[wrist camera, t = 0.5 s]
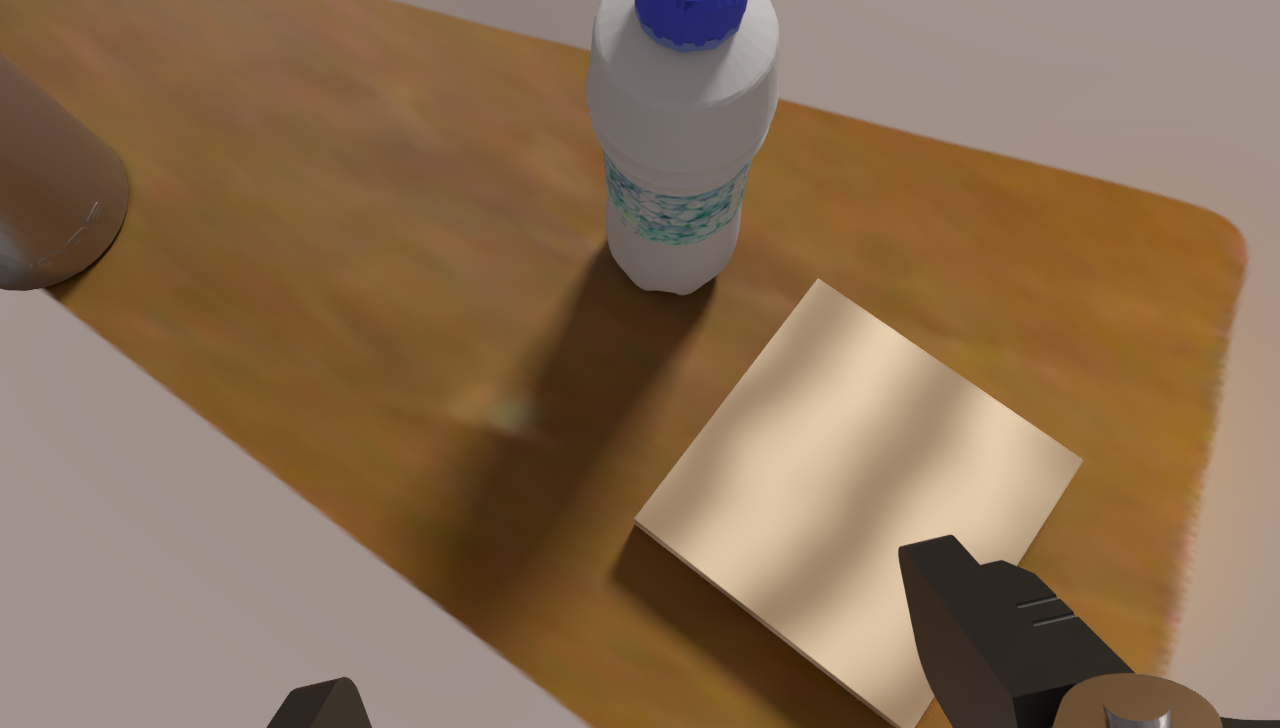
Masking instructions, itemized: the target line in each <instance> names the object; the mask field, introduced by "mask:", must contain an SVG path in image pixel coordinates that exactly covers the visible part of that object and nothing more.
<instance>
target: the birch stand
mask: <svg viewBox="0 0 1280 728" xmlns="http://www.w3.org/2000/svg"><path fill="white" fill-rule="evenodd" d="M1082 462H1083V459H1081V458H1080V457H1078V456H1077V455H1076V454H1074V453H1073V452H1071V451H1070V450H1068V449H1067V448H1065V447H1064V446H1062V445H1061V444H1059V443H1058V442H1057V441H1055V440H1054V439H1052V438H1051V437H1049V436H1048V435H1046V434H1045V433H1043V432H1042V431H1040V430H1039V429H1038V428H1036V427H1035V426H1033V425H1032V424H1030V423H1029V422H1027V421H1026V420H1024V419H1023V418H1021V417H1020V416H1019V415H1017V414H1016V413H1014V412H1013V411H1011V410H1010V409H1008V408H1007V407H1005V406H1004V405H1003V404H1001V403H1000V402H998V401H997V400H995V399H994V398H992V397H991V396H989V395H988V394H986V393H985V392H984V391H982V390H981V389H979V388H978V387H976V386H975V385H973V384H972V383H970V382H969V381H967V380H966V379H965V378H963V377H962V376H960V375H959V374H957V373H956V372H954V371H953V370H951V369H950V368H948V367H947V366H946V365H944V364H943V363H941V362H940V361H938V360H937V359H935V358H934V357H932V356H931V355H929V354H928V353H927V352H925V351H924V350H922V349H921V348H919V347H918V346H916V345H915V344H913V343H912V342H911V341H909V340H908V339H906V338H905V337H903V336H902V335H900V334H899V333H897V332H896V331H894V330H893V329H892V328H890V327H889V326H887V325H886V324H884V323H883V322H881V321H880V320H878V319H877V318H875V317H874V316H873V315H871V314H870V313H868V312H867V311H865V310H864V309H862V308H861V307H859V306H858V305H856V304H855V303H854V302H852V301H851V300H849V299H848V298H846V297H845V296H843V295H842V294H840V293H839V292H837V291H836V290H835V289H833V288H832V287H830V286H829V285H827V284H826V283H824V282H823V281H821V280H820V279H819V278H818V279H817V280H816V282H815V283H814V284H813V285H812V287H811V288H810V289H809V291H808V292H807V293H806V295H805V296H804V297H803V299H802V300H801V301H800V302H799V304H798V305H797V306H796V308H795V309H794V310H793V312H792V313H791V314H790V316H789V317H788V318H787V319H786V321H785V322H784V323H783V325H782V326H781V327H780V329H779V330H778V331H777V333H776V334H775V335H774V336H773V338H772V339H771V340H770V342H769V343H768V344H767V346H766V347H765V348H764V350H763V351H762V352H761V353H760V355H759V356H758V357H757V359H756V360H755V361H754V363H753V364H752V365H751V367H750V368H749V369H748V370H747V372H746V373H745V374H744V376H743V377H742V378H741V380H740V381H739V382H738V384H737V385H736V386H735V387H734V389H733V390H732V391H731V393H730V394H729V395H728V397H727V398H726V399H725V400H724V402H723V403H722V404H721V406H720V407H719V408H718V410H717V411H716V412H715V414H714V415H713V416H712V417H711V419H710V420H709V421H708V423H707V424H706V425H705V427H704V428H703V429H702V431H701V432H700V433H699V434H698V436H697V437H696V438H695V440H694V441H693V442H692V444H691V445H690V446H689V448H688V449H687V450H686V451H685V453H684V454H683V455H682V457H681V458H680V459H679V461H678V462H677V463H676V465H675V466H674V467H673V468H672V470H671V471H670V472H669V474H668V475H667V476H666V478H665V479H664V480H663V482H662V483H661V484H660V485H659V487H658V488H657V489H656V491H655V492H654V493H653V495H652V496H651V497H650V499H649V500H648V501H647V502H646V504H645V505H644V506H643V508H642V509H641V510H640V512H639V513H638V514H637V515H636V517H635V518H634V522H635V525H636V526H638V527H639V528H640V529H641V530H643V531H644V532H645V533H646V534H648V535H649V536H650V537H652V538H653V539H654V540H655V541H657V542H658V543H659V544H660V545H662V546H663V547H664V548H666V549H667V550H668V551H669V552H671V553H672V554H673V555H675V556H676V557H677V558H678V559H680V560H681V561H682V562H683V563H685V564H686V565H687V566H689V567H690V568H691V569H692V570H694V571H695V572H696V573H698V574H699V575H700V576H701V577H703V578H704V579H705V580H706V581H708V582H709V583H710V584H712V585H713V586H714V587H715V588H717V589H718V590H719V591H720V592H722V593H723V594H724V595H726V596H727V597H728V598H729V599H731V600H732V601H733V602H735V603H736V604H737V605H738V606H740V607H741V608H742V609H743V610H745V611H746V612H747V613H749V614H750V615H751V616H752V617H754V618H755V619H756V620H758V621H759V622H760V623H761V624H763V625H764V626H765V627H766V628H768V629H769V630H770V631H772V632H773V633H774V634H775V635H777V636H778V637H779V638H780V639H782V640H783V641H784V642H786V643H787V644H788V645H789V646H791V647H792V648H793V649H795V650H796V651H797V652H798V653H800V654H801V655H802V656H803V657H805V658H806V659H807V660H809V661H810V662H811V663H812V664H814V665H815V666H816V667H818V668H819V669H820V670H821V671H823V672H824V673H825V674H826V675H828V676H829V677H830V678H832V679H833V680H834V681H835V682H837V683H838V684H839V685H840V686H842V687H843V688H844V689H846V690H847V691H848V692H849V693H851V694H852V695H853V696H855V697H856V698H857V699H858V700H860V701H861V702H862V703H863V704H865V705H866V706H867V707H869V708H870V709H871V710H872V711H874V712H875V713H876V714H878V715H879V716H880V717H881V718H883V719H884V720H885V721H886V722H888V723H889V724H890V725H892V726H893V727H895V728H915V726H916V725H917V723H918V721H919V720H920V718H921V717H922V715H923V714H924V712H925V710H926V709H927V707H928V706H929V704H930V702H931V701H932V699H933V698H934V694H933V692H932V690H931V688H930V686H929V684H928V681H927V679H926V676H925V674H924V671H923V668H922V665H921V662H920V659H919V655H918V652H917V648H916V643H915V638H914V633H913V629H912V624H911V619H910V614H909V609H908V604H907V599H906V594H905V589H904V584H903V579H902V575H901V570H900V564H899V558H898V549H899V547H900V546H904V545H908V544H912V543H916V542H920V541H925V540H929V539H933V538H937V537H941V536H946V535H951V534H952V535H953V536H955V537H956V538H957V540H958V541H959V542H960V543H961V544H962V545H963V546H964V547H965V549H966V550H967V551H968V552H969V553H970V554H971V555H972V556H973V557H974V559H975V560H976V561H977V562H978V563H979V564H980V565H982V564H986V563H990V562H994V561H999V560H1004V561H1006V562H1008V563H1011V564H1013V565H1015V566H1017V565H1018V563H1019V562H1020V560H1021V558H1022V557H1023V555H1024V554H1025V552H1026V550H1027V549H1028V547H1029V546H1030V544H1031V543H1032V541H1033V539H1034V538H1035V536H1036V535H1037V533H1038V531H1039V530H1040V528H1041V527H1042V525H1043V524H1044V522H1045V520H1046V519H1047V517H1048V516H1049V514H1050V512H1051V511H1052V509H1053V508H1054V506H1055V505H1056V503H1057V501H1058V500H1059V498H1060V497H1061V495H1062V493H1063V492H1064V490H1065V489H1066V487H1067V486H1068V484H1069V482H1070V481H1071V479H1072V478H1073V476H1074V474H1075V473H1076V471H1077V470H1078V468H1079V467H1080V465H1081V463H1082Z"/></svg>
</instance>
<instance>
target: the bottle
mask: <svg viewBox="0 0 1280 728" xmlns="http://www.w3.org/2000/svg"><path fill="white" fill-rule="evenodd" d="M778 54H779V27H778V21H777V16H776V14H775V11H774V9H773V7H772V4H771V2H770V0H602V1H601V3H600V5H599V8H598V10H597V13H596V16H595V20H594V26H593V34H592V45H591V55H590V63H589V70H588V74H587V81H586V95H587V102H588V106H589V110H590V114H591V121H592V126H593V129H594V132H595V134H596V137H597V139H598V141H599V143H600V144H601V146H602V148H603V152H604V163H605V174H606V185H607V209H606V231H607V238H608V245H609V248H610V251H611V253H612V256H613V257H614V259H615V260H616V262H617V263H618V265H619V266H620V267H621V268H622V269H623V271H624V272H625V273H626V274H627V275H628V276H629V278H630V279H631V280H632V281H633V282H634V283H635V284H636V285H637V286H638V287H640V288H641V289H643V290H646V291H652V290H657V291H664V292H672V293H676V294H677V295H687V294H690V293H692V292H694V291H696V290H697V289H698V288H700V287H701V286H702V285H704V284H705V283H707V282H708V281H710V280H711V279H712V278H714V277H715V276H716V275H718V274H720V273H721V272H722V271H723V270H724V269H725V268H726V266H727V264H728V263H729V261H730V258H731V256H732V254H733V251H734V249H735V246H736V242H737V238H738V234H739V226H740V216H741V203H742V198H743V195H744V190H745V186H746V182H747V178H748V173H749V169H750V165H751V161H752V158H753V157H754V156H755V154H756V153H757V152H758V150H759V149H760V148H761V146H762V144H763V142H764V140H765V137H766V135H767V133H768V130H769V126H770V123H771V121H772V119H773V116H774V113H775V110H776V107H777V102H778V91H779V88H778V56H779V55H778Z"/></svg>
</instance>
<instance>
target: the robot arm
mask: <svg viewBox="0 0 1280 728" xmlns="http://www.w3.org/2000/svg"><path fill="white" fill-rule="evenodd" d="M128 194H129V190H128V183H127V176H126V173H125V171H124V168H123V166H122V164H121V161H120V160H119V158H118V157H117V156H116V155H115V153H114V152H113V151H112V149H111V148H110V147H109V146H107V145H106V144H105V143H104V142H103V141H102V140H100V139H99V138H98V137H97V136H96V135H95V134H93V133H92V132H91V131H90V130H89V129H88V128H87V127H85V126H84V125H83V124H82V123H81V122H80V121H78V120H77V119H76V118H75V117H74V116H73V115H71V114H70V113H69V112H68V111H67V110H66V109H65V108H63V107H62V106H61V105H60V104H59V103H58V102H57V101H56V100H55V99H54V98H52V97H51V96H50V95H49V94H48V93H47V92H45V91H44V90H43V89H42V88H41V87H40V86H39V85H37V84H36V83H35V82H34V81H33V80H32V79H30V78H29V77H28V76H27V75H26V74H25V73H23V72H22V71H21V70H20V69H19V68H18V67H16V66H15V65H14V64H13V63H12V62H11V61H10V60H8V59H7V58H6V57H5V56H4V55H3V54H1V53H0V289H4V290H21V291H27V290H33V289H39V288H45V287H48V286H51V285H54V284H57V283H60V282H62V281H65V280H67V279H69V278H70V277H72V276H74V275H76V274H77V273H79V272H81V271H83V270H84V269H85V268H87V267H88V266H89V265H90V264H91V263H93V262H94V261H95V260H96V259H98V258H99V257H100V255H101V254H102V253H103V252H104V251H105V250H106V248H107V247H108V246H109V245H110V244H111V243H112V241H113V239H114V238H115V236H116V234H117V232H118V231H119V229H120V227H121V225H122V222H123V219H124V216H125V213H126V210H127V204H128ZM898 558H899V564H900V570H901V575H902V579H903V584H904V589H905V594H906V599H907V604H908V609H909V614H910V619H911V624H912V629H913V633H914V638H915V643H916V648H917V652H918V655H919V659H920V662H921V665H922V668H923V671H924V674H925V676H926V679H927V681H928V684H929V686H930V688H931V690H932V692H933V694H934V696H935V697H936V699H937V701H938V702H939V704H940V706H941V708H942V709H943V711H944V713H945V715H946V716H947V718H948V720H949V721H950V723H951V725H952V727H953V728H1280V720H1239V719H1232V718H1224V717H1220V716H1219V714H1218V713H1217V711H1216V710H1215V708H1214V707H1213V706H1212V705H1211V704H1210V703H1209V702H1208V701H1207V700H1206V699H1205V698H1204V697H1202V696H1201V695H1199V694H1198V693H1197V692H1195V691H1193V690H1191V689H1190V688H1188V687H1186V686H1184V685H1181V684H1179V683H1176V682H1174V681H1171V680H1168V679H1164V678H1161V677H1157V676H1151V675H1146V674H1136V673H1135V672H1134V671H1133V670H1132V669H1131V668H1130V667H1129V666H1128V665H1127V664H1126V663H1125V662H1124V661H1123V660H1122V659H1121V658H1119V657H1118V656H1117V655H1116V654H1115V653H1114V652H1113V651H1112V650H1111V649H1110V648H1109V647H1108V646H1107V645H1106V644H1105V643H1104V642H1103V641H1102V640H1101V639H1100V638H1099V637H1098V636H1097V635H1096V634H1095V633H1094V632H1093V631H1092V630H1091V629H1090V628H1089V627H1088V626H1087V625H1086V624H1085V623H1084V622H1083V621H1082V620H1081V619H1080V618H1079V617H1075V615H1074V612H1073V611H1072V610H1071V609H1070V608H1069V607H1068V606H1067V605H1066V604H1065V603H1064V602H1063V601H1062V600H1061V599H1057V597H1056V594H1055V593H1054V592H1053V591H1052V590H1051V589H1050V588H1049V587H1048V586H1047V585H1046V584H1045V583H1044V582H1043V581H1042V580H1041V579H1040V578H1039V577H1038V576H1037V575H1036V574H1034V573H1032V572H1029V571H1027V570H1025V569H1022V568H1020V567H1018V566H1015V565H1013V564H1011V563H1008V562H1006V561H1004V560H999V561H994V562H990V563H986V564H982V565H980V564H979V563H978V562H977V561H976V560H975V559H974V557H973V556H972V555H971V554H970V553H969V552H968V551H967V550H966V549H965V547H964V546H963V545H962V544H961V543H960V542H959V541H958V540H957V538H956V537H955V536H953V535H952V534H951V535H946V536H941V537H937V538H933V539H929V540H925V541H920V542H916V543H912V544H908V545H904V546H900V547H899V549H898ZM267 728H372V727H371V724H370V721H369V718H368V716H367V713H366V710H365V708H364V705H363V703H362V700H361V697H360V694H359V692H358V690H357V687H356V686H355V684H354V683H353V682H352V680H350V679H349V678H346V677H342V678H338V679H334V680H330V681H326V682H321V683H317V684H313V685H309V686H305V687H300V688H296V689H294V690H293V691H291V692H290V693H289V695H288V696H287V698H286V699H285V701H284V702H283V704H282V705H281V707H280V708H279V710H278V711H277V713H276V714H275V716H274V717H273V719H272V720H271V722H270V723H269V725H268V726H267Z"/></svg>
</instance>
